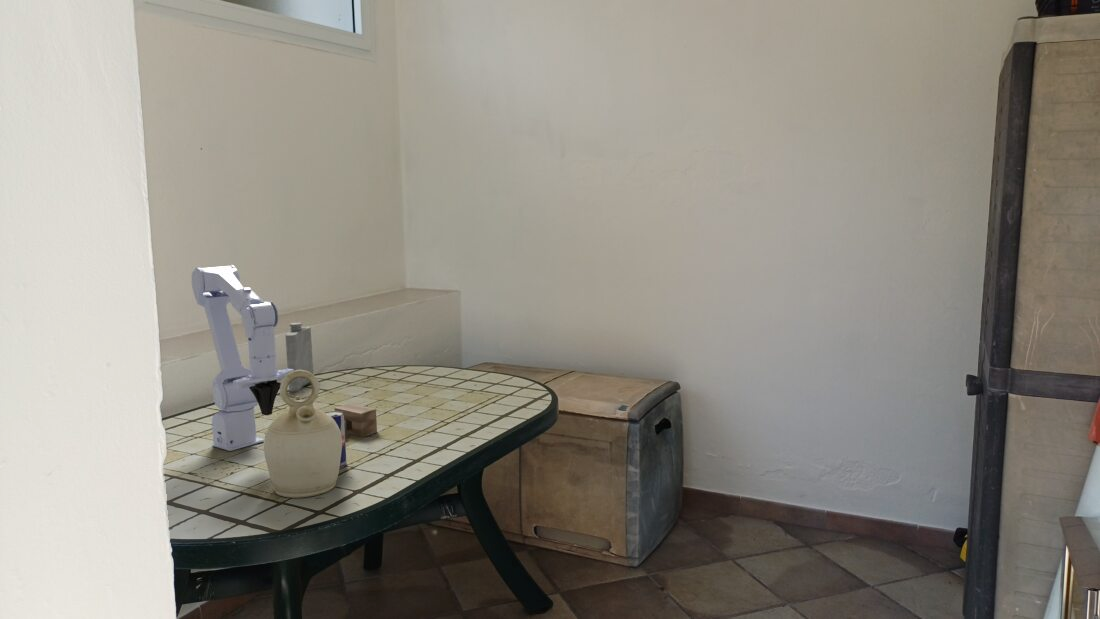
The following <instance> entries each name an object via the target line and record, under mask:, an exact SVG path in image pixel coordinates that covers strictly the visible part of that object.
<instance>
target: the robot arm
mask: <svg viewBox="0 0 1100 619" xmlns="http://www.w3.org/2000/svg"><path fill="white" fill-rule="evenodd" d="M191 287H192V290H193V291H192V292H193V295H194V298H195V301H196V303H197V305H199V306H202V307H203V309H204V311H205V314H206V315H205V316H206V319H207V322H208V325H209V330H210V334H211V337H212V342H213V344H214V345H213V346H214V348H215V353H216V356H217V360H218V364H219V368H220V372H218V374H217V375H216V376H214V379H213V381H212V383H211V386H212V391H213V392H212V395H213V401H214V404H215V406H216V407H217V408H218V409H220V410H221V411H219V412H217V413H214V414H213V416H212V419H211V428H212V440H213V443H212V444H211V446H213V447H216V448H219V449H222V450H224V451H225V450H226V451H229V452H231V451H235V450H238V449H242V448H245V447H249V446H253V445H256V444H258V443H260V444H261V443H262V442H263V443H264V439H265V438H260V437H258V436H257V429H256V428H257V427H256V414H255V407H257V404H258V407H259V410H260V412H261V415H263V416H270V415H272V414H273V410H274V406H275V400H276V397H277V395H278V392H280V385H281V382H278V381H282V380H283V379H284V377H285V376H286V375H288V374H289V373H290V372H293V371H294V370H293V369H288V368H286V369H278V368H277V367H278V364H277V362H278V361H277V352H276V351H277V349H276V337H275V336H276V334H275V327H276V326H277V325H278V323H279V313H278V308H277V306H276V304H275V303H274V301H264V300H263V299H262V298H261V297H260V296H259V295H258V294H257V293H256V292H255V291H254V290H253V289H252V288H251V287H249V286H248V287H244V286H243V285H242V283H241V282H240V273H239V271H238V269H237V267H236V266H235V265H234V264H229V265H223V266H222V265H221V266H212V267H211V266H208V267H195V268H194V269H193V271H192V273H191ZM229 303H231V306H232V307H233V308H234V309H235V311H236V312H238V314H239V315H240V316H241V321H242V325H243V328H244V334H245V337H246V338H247V340H248V354H249V355H248V356H249V367H250V368H248V367H245V366H244V365H242V360H241V357H240V353H239V350H238V346H237V343H236V339H235V335H234V331H233V327H232V323H231V320H230V316H229V313H228V309H227V306H228V305H229Z"/></svg>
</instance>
